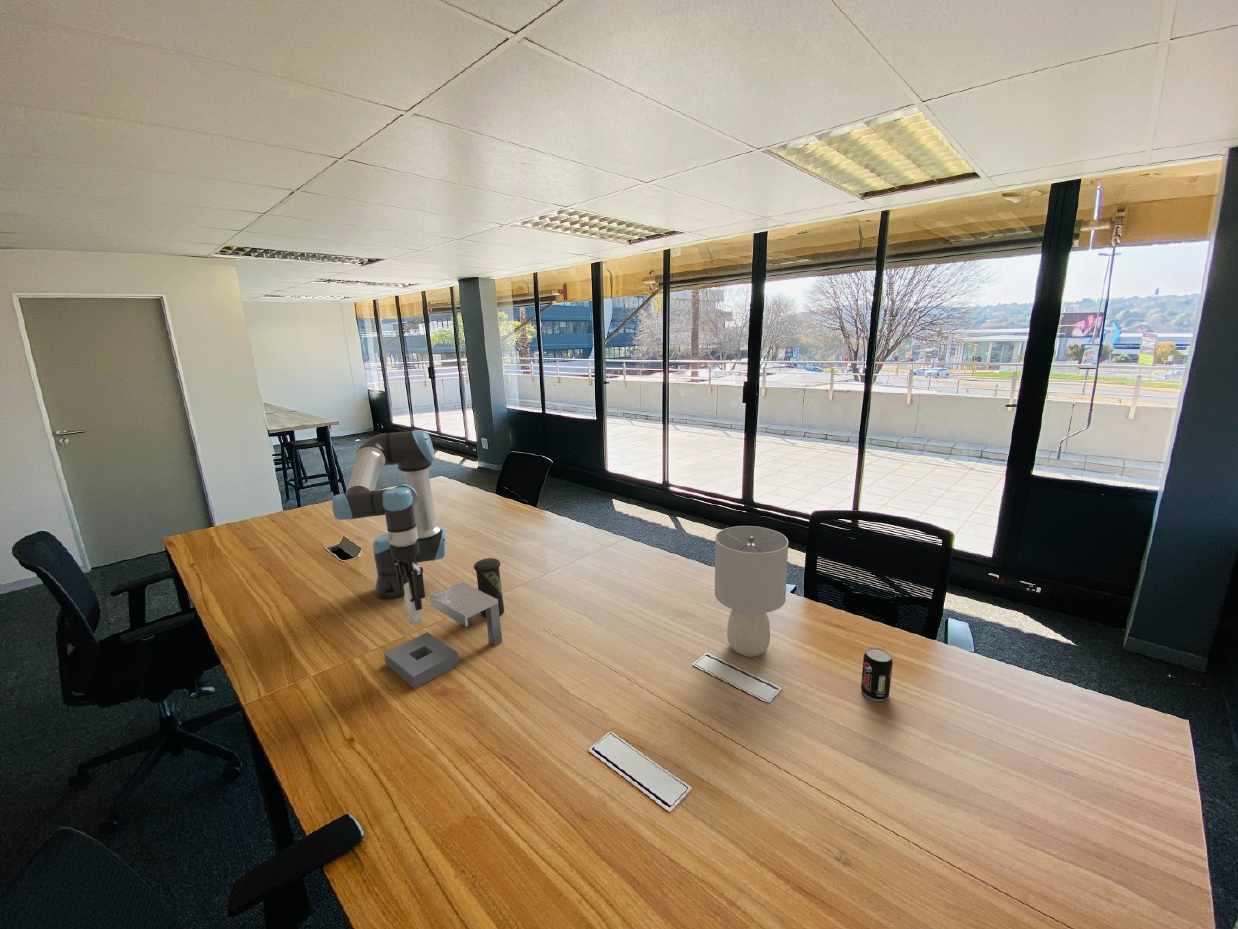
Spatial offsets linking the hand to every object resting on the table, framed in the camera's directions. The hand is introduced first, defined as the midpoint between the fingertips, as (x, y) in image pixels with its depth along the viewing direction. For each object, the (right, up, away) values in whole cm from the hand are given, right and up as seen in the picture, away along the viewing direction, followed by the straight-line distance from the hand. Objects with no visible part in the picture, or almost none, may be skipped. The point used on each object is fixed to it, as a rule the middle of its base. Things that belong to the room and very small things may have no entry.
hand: (415, 616), depth 145 cm
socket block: (+1, -16, +4) cm, 16 cm away
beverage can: (+128, -16, -15) cm, 129 cm away
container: (+15, -9, +32) cm, 36 cm away
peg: (0, -2, 0) cm, 2 cm away
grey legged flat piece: (+11, -13, +16) cm, 23 cm away
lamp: (+100, -12, +5) cm, 100 cm away
